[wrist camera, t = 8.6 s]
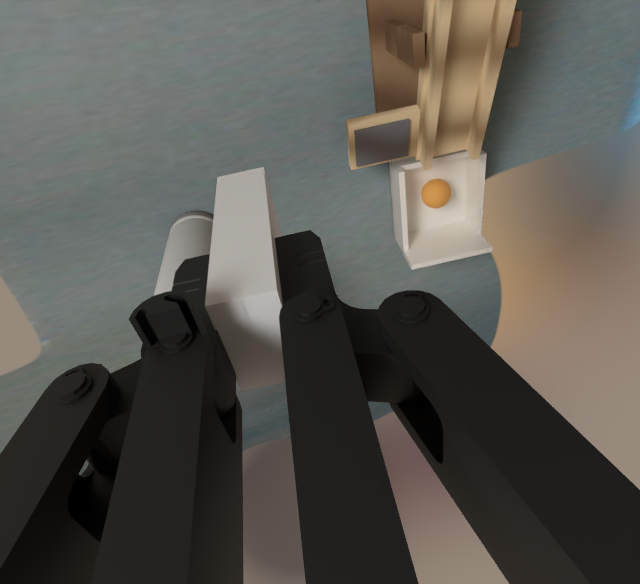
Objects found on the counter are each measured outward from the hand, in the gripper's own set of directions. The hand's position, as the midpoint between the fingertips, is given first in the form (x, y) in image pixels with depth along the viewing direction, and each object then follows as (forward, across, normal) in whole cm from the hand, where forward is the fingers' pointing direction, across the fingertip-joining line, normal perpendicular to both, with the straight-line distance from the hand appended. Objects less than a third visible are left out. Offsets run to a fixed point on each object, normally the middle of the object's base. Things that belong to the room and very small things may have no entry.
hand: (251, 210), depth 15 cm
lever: (+25, +14, -1) cm, 28 cm away
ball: (+30, +17, -18) cm, 39 cm away
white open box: (+32, +17, -18) cm, 41 cm away
